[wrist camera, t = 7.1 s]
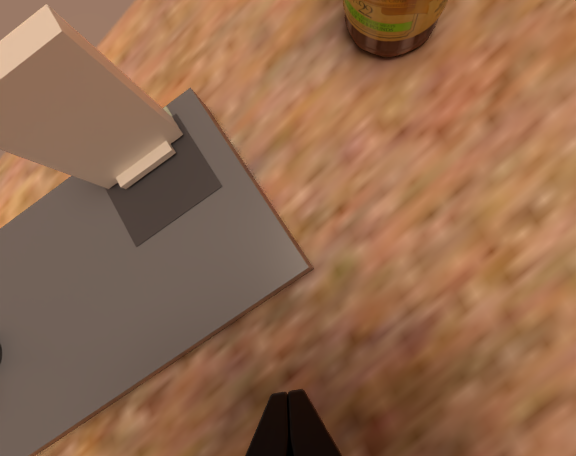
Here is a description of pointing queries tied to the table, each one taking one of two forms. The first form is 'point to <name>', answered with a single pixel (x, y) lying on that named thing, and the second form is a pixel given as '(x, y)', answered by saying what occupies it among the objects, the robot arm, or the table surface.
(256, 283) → the switch panel
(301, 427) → the robot arm
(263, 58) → the table surface
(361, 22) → the sauce bottle
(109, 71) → the ivory paddle
